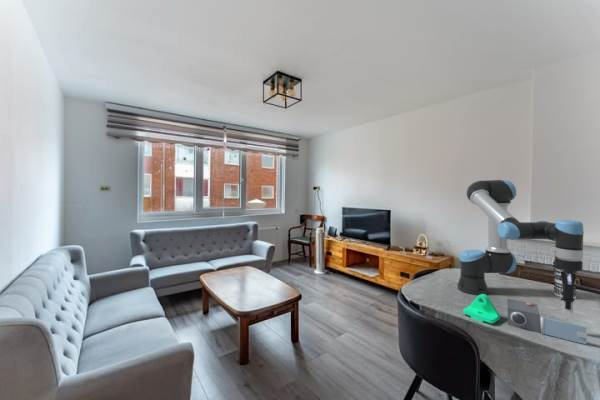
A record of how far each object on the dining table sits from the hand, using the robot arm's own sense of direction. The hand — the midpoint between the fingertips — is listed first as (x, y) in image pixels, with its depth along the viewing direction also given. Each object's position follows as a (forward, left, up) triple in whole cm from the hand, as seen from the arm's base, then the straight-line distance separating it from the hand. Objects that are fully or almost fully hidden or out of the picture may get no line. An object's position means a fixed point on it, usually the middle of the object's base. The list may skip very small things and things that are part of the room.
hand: (567, 315), depth 100 cm
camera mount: (-28, -6, -7) cm, 30 cm away
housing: (-14, -1, -7) cm, 15 cm away
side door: (-2, -8, -7) cm, 10 cm away
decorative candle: (+5, +50, -7) cm, 51 cm away
